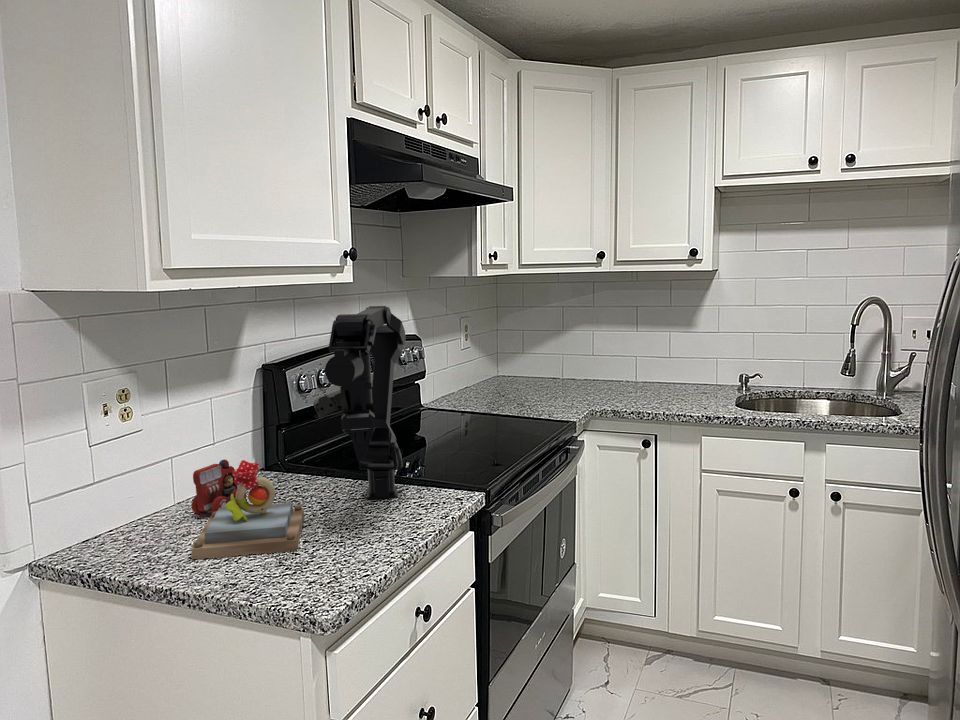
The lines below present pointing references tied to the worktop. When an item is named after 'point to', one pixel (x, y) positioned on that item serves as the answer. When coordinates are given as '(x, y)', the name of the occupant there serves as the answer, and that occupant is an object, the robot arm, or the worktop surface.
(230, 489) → the toy fire truck
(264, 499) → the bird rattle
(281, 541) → the wooden toy tray
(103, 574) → the worktop surface
